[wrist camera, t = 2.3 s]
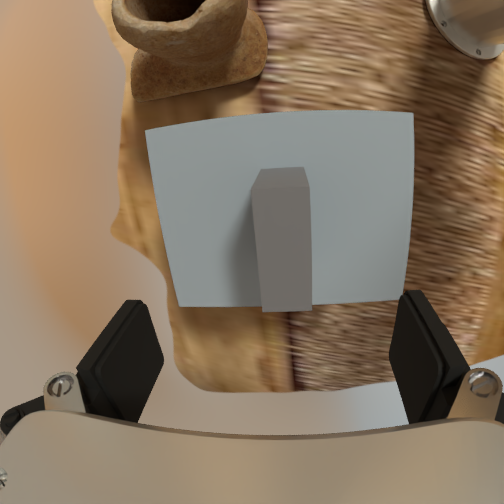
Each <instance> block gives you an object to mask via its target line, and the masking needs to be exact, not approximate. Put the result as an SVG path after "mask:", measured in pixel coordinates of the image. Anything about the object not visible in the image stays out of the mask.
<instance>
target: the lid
mask: <svg viewBox="0 0 504 504" xmlns="http://www.w3.org/2000/svg"><path fill="white" fill-rule="evenodd" d="M145 135H146V142H147V149H148V156H149V162H150V168H151V174H152V180H153V186H154V192H155V197H156V203H157V208H158V214H159V219H160V224H161V229H162V234H163V239H164V243H165V248H166V253H167V257H168V262H169V266H170V270H171V275H172V279H173V283H174V287H175V291H176V295H177V300H178V303H179V307H257V306H262V312H289V311H312V305H320V304H341V303H358V302H373V301H387V300H399V298H400V296H401V295H402V294H403V288H404V281H405V275H406V267H407V260H408V251H409V242H410V232H411V221H412V207H413V188H414V118H413V113H408V112H392V111H367V110H317V111H292V112H275V113H262V114H251V115H241V116H232V117H223V118H216V119H208V120H201V121H194V122H188V123H182V124H176V125H170V126H165V127H159V128H154V129H149V130H145Z"/></svg>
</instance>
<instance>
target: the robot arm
mask: <svg viewBox="0 0 504 504" xmlns="http://www.w3.org/2000/svg"><path fill="white" fill-rule="evenodd" d="M425 1H426V5H427V9H428V12H429V14H430V17H431V18H432V20H433V22H434V24H435V26H436V27H437V28H438V30H439V31H440V33H441V34H442V35H443V36H444V37H445V38H446V40H447V41H448V42H449V43H451V44H452V45H453V46H454V47H455V48H456V49H458V50H459V51H461V52H462V53H464V54H466V55H468V56H470V57H473V58H476V59H483V60H485V59H492V58H495V57H497V56H498V55H500V54H501V53H502V51H503V50H504V0H425ZM389 360H390V364H391V367H392V370H393V373H394V376H395V379H396V382H397V385H398V388H399V391H400V395H401V398H402V401H403V404H404V408H405V411H406V415H407V418H408V422H409V424H408V425H402V426H395V427H388V428H380V429H372V430H363V431H354V432H343V433H331V434H317V435H316V434H315V435H238V434H221V433H210V432H199V431H189V430H181V429H173V428H165V427H158V426H152V425H146V424H140V423H138V420H139V418H140V416H141V413H142V411H143V409H144V407H145V404H146V402H147V400H148V397H149V395H150V393H151V391H152V388H153V386H154V384H155V382H156V380H157V377H158V375H159V373H160V371H161V369H162V366H163V364H164V357H163V353H162V351H161V347H160V345H159V342H158V339H157V336H156V333H155V329H154V326H153V323H152V320H151V317H150V314H149V310H148V307H147V305H146V304H143V302H142V301H141V300H126V301H125V302H124V304H123V305H122V306H121V308H120V309H119V310H118V311H117V313H116V314H115V315H114V317H113V318H112V319H111V321H110V322H109V323H108V325H107V326H106V327H105V329H104V330H103V331H102V333H101V334H100V335H99V337H98V338H97V339H96V341H95V342H94V343H93V345H92V346H91V348H90V349H89V350H88V352H87V353H86V354H85V356H84V357H83V359H82V360H81V361H80V363H79V364H78V366H77V367H76V369H77V370H78V373H77V374H76V375H74V374H73V373H71V372H61V373H58V374H55V375H54V376H52V377H51V378H49V380H48V381H47V382H46V384H45V386H44V391H43V392H44V395H43V396H40V397H38V398H36V399H34V400H31V401H28V402H26V403H23V404H21V405H18V406H15V407H13V408H11V409H9V410H8V411H6V412H5V413H4V415H3V416H2V418H1V421H0V504H504V393H502V387H503V385H502V382H501V380H500V378H499V377H498V375H497V374H495V373H494V372H493V371H491V370H489V369H485V368H475V369H472V370H471V369H470V367H469V366H468V364H467V362H466V360H465V358H464V357H463V355H462V353H461V351H460V350H459V348H458V346H457V344H456V343H455V341H454V339H453V338H452V336H451V334H450V333H449V331H448V329H447V328H446V326H445V325H444V324H443V323H442V322H441V320H440V319H439V317H438V315H437V314H436V312H435V311H434V309H433V308H432V306H431V304H430V303H429V301H428V300H427V298H426V297H425V295H424V294H423V292H422V291H421V290H410V291H405V293H404V295H401V296H400V298H399V304H398V310H397V315H396V321H395V326H394V331H393V336H392V341H391V345H390V350H389Z"/></svg>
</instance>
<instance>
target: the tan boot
mask: <svg viewBox="0 0 504 504" xmlns="http://www.w3.org/2000/svg"><path fill="white" fill-rule="evenodd" d="M112 18H113V22H114V25H115V27H116V30H117V31H118V33H119V34H120V36H121V37H122V38H123V39H124V40H126V41H127V42H128V43H130V44H131V45H133V46H134V47H136V48H138V50H137V52H136V53H135V55H134V59H133V61H132V68H131V89H132V95H133V98H134V99H135V100H136V101H137V102H145V101H150V100H155V99H161V98H166V97H171V96H175V95H179V94H183V93H189V92H195V91H200V90H205V89H211V88H215V87H220V86H225V85H230V84H235V83H239V82H243V81H246V80H249V79H251V78H253V77H256V76H258V75H259V74H260V73H261V72H262V70H263V68H264V66H265V63H266V59H267V51H268V41H267V34H266V30H265V27H264V24H263V22H262V20H261V19H260V18H259V17H258V16H257V14H256V13H255V12H254V11H253V10H251V9H249V8H248V0H113V1H112Z"/></svg>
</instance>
